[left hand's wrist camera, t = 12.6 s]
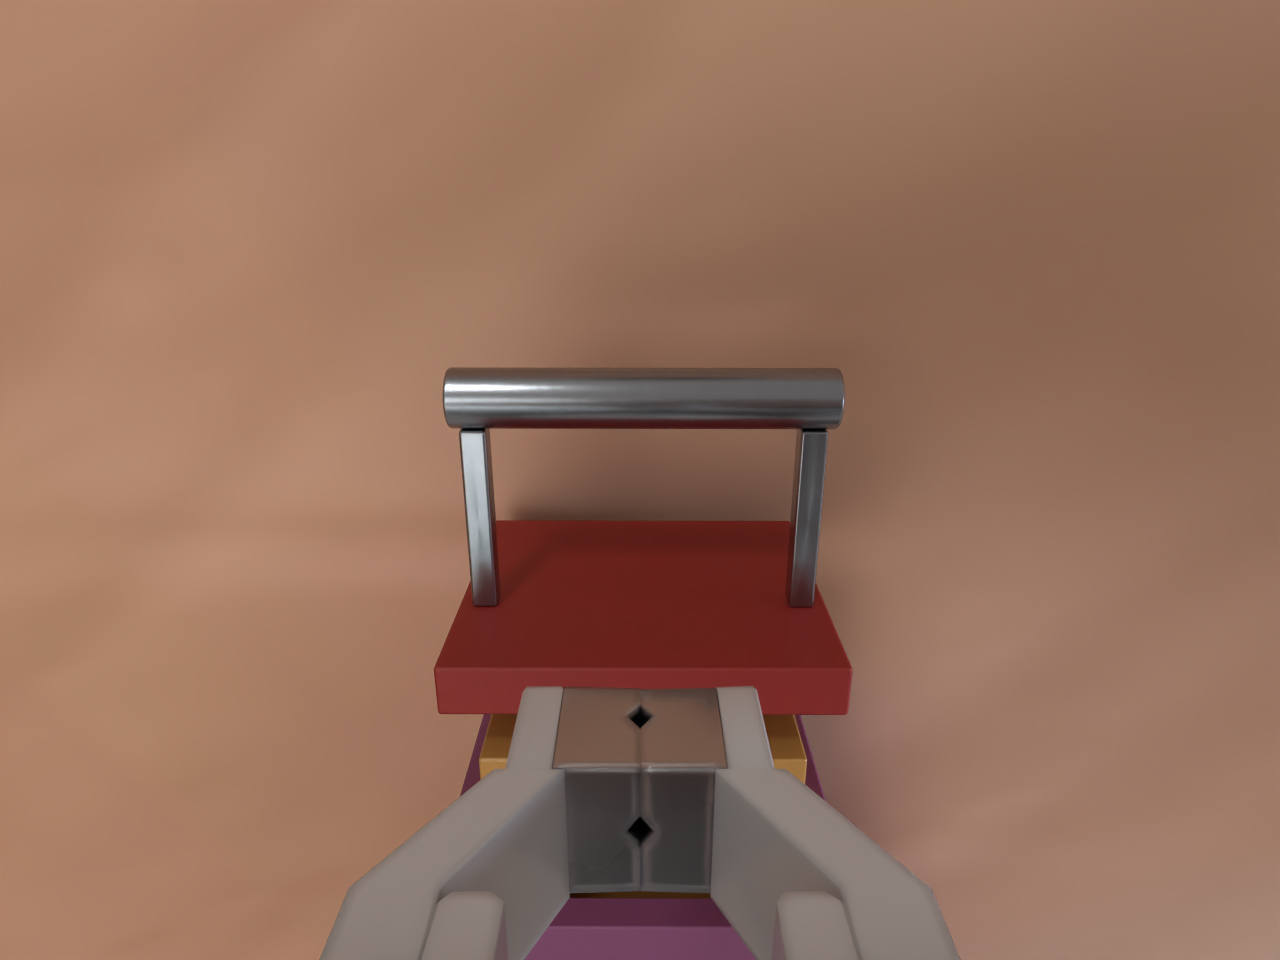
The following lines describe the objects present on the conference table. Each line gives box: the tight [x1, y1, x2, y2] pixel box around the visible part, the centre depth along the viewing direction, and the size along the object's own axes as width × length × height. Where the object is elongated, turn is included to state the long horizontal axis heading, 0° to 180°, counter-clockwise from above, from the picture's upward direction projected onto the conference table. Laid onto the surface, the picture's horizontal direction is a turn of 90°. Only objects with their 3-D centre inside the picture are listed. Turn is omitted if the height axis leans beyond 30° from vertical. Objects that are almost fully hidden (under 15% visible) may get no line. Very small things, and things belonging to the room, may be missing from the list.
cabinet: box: [460, 714, 825, 960], centre depth 25 cm, size 13×10×10 cm
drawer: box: [434, 368, 853, 898], centre depth 22 cm, size 17×9×8 cm, turn 0°
